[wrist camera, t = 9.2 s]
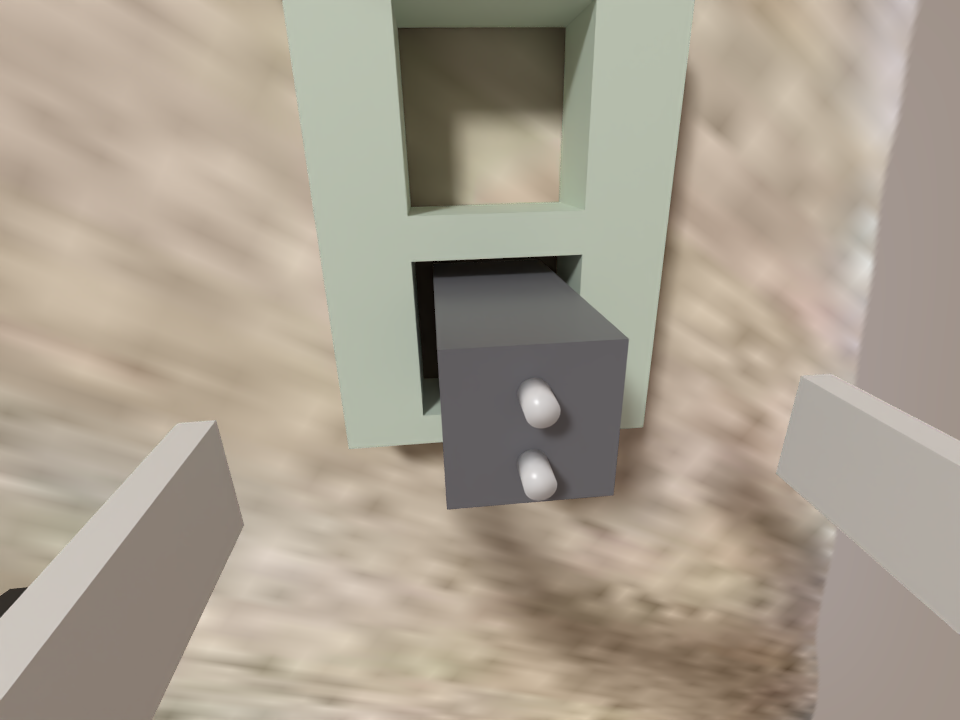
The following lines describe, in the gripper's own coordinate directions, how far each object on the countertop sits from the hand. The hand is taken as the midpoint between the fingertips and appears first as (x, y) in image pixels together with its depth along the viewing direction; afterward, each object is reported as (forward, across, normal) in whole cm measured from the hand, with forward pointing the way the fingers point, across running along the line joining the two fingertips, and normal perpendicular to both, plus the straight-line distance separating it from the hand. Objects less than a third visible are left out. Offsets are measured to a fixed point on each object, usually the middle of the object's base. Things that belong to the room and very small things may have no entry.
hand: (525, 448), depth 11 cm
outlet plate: (+11, +1, +4) cm, 12 cm away
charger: (+11, +1, 0) cm, 11 cm away
